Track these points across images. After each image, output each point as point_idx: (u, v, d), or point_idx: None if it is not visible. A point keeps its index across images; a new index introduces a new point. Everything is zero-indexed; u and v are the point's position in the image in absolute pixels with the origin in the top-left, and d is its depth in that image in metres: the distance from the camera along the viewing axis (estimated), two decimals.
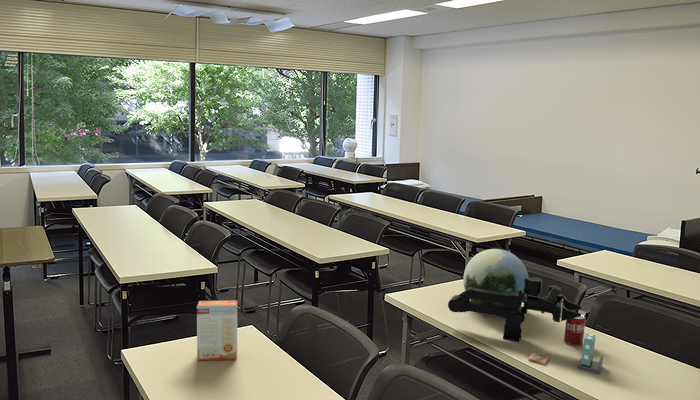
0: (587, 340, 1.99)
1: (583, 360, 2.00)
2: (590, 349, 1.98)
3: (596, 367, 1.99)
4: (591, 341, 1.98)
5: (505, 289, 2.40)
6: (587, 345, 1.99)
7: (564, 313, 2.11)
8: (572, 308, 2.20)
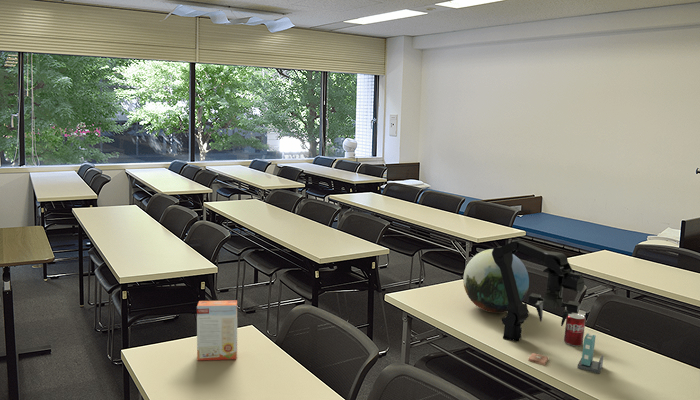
0: (587, 340, 1.99)
1: (583, 360, 2.00)
2: (590, 349, 1.98)
3: (596, 367, 1.99)
4: (591, 341, 1.98)
5: None
6: (587, 345, 1.99)
7: None
8: None
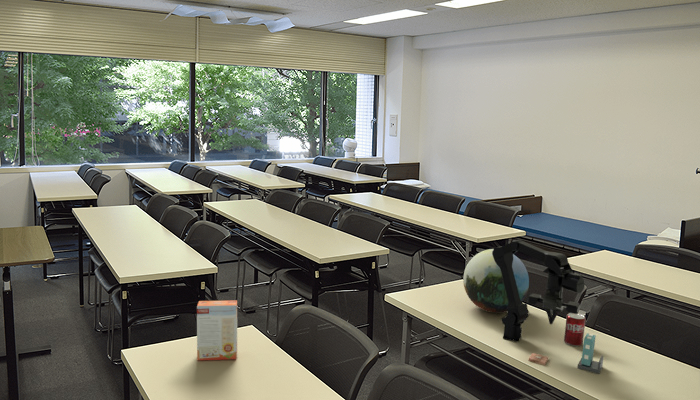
0: (587, 340, 1.99)
1: (583, 360, 2.00)
2: (590, 349, 1.98)
3: (596, 367, 1.99)
4: (591, 341, 1.98)
5: None
6: (587, 345, 1.99)
7: (549, 308, 2.12)
8: None
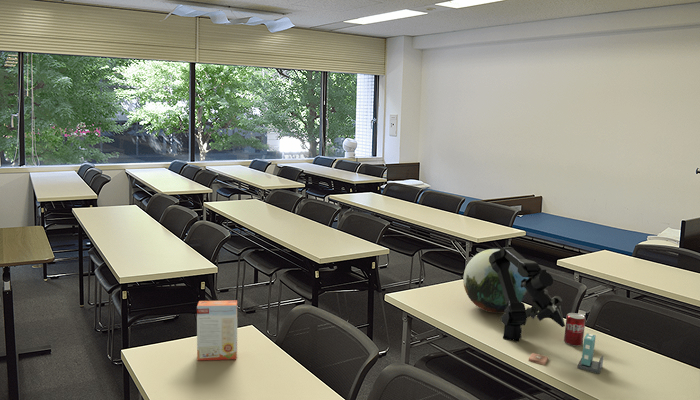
0: (587, 340, 1.99)
1: (583, 360, 2.00)
2: (590, 349, 1.98)
3: (596, 367, 1.99)
4: (591, 341, 1.98)
5: None
6: (587, 345, 1.99)
7: None
8: None
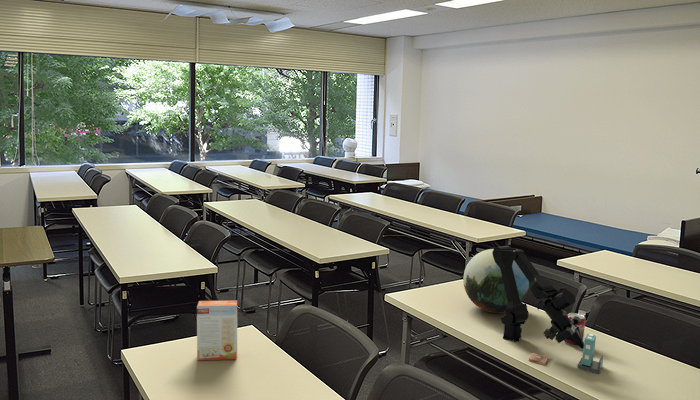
0: (587, 340, 1.99)
1: (583, 360, 2.00)
2: (590, 349, 1.98)
3: (596, 367, 1.99)
4: (591, 341, 1.98)
5: None
6: (587, 345, 1.99)
7: None
8: None
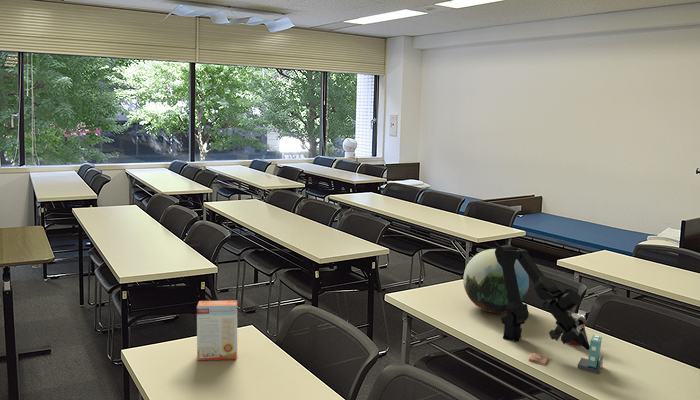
0: (593, 342, 1.97)
1: (589, 362, 1.99)
2: (596, 351, 1.97)
3: (596, 367, 1.99)
4: (597, 343, 1.97)
5: (505, 289, 2.40)
6: (593, 347, 1.97)
7: None
8: None
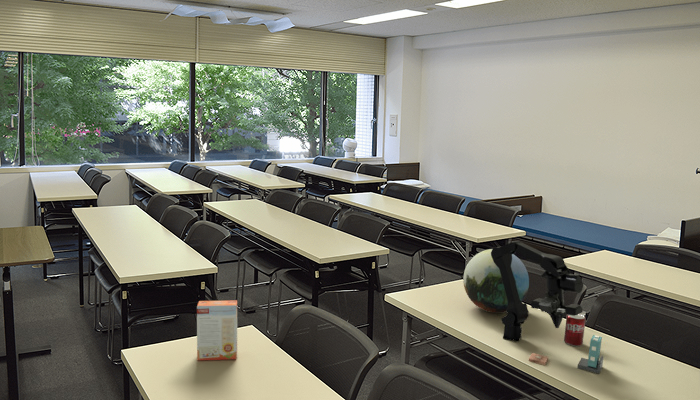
0: (593, 342, 1.97)
1: (589, 362, 1.99)
2: (596, 351, 1.97)
3: (596, 367, 1.99)
4: (597, 343, 1.97)
5: None
6: (593, 347, 1.97)
7: None
8: None
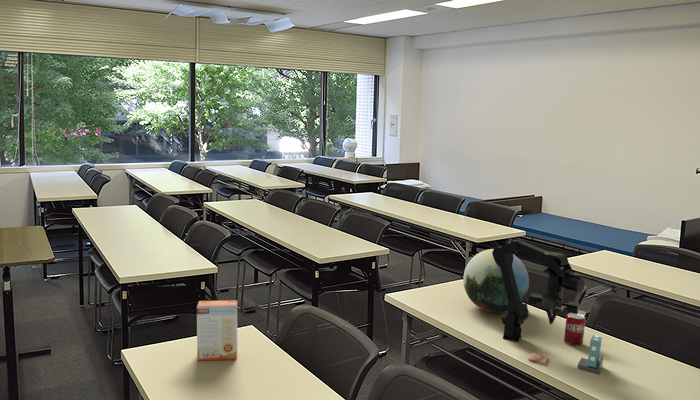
0: (593, 342, 1.97)
1: (589, 362, 1.99)
2: (596, 351, 1.97)
3: (596, 367, 1.99)
4: (597, 343, 1.97)
5: None
6: (593, 347, 1.97)
7: (549, 308, 2.12)
8: None
